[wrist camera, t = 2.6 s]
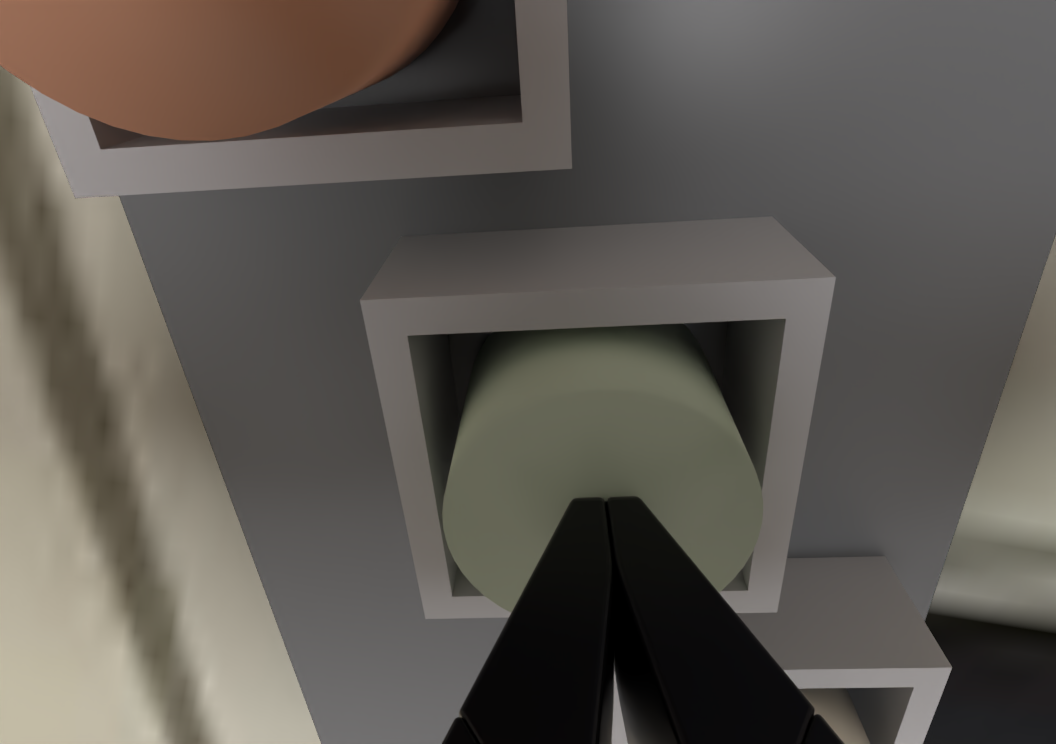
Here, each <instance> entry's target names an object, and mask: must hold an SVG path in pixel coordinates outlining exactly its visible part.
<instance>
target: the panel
mask: <svg viewBox="0 0 1056 744" xmlns="http://www.w3.org/2000/svg"><path fill="white" fill-rule="evenodd" d="M30 87H31V86H30ZM31 90H32V92H33V95H34V97H35V100H36V102H37V105H38V107H39V110H40V112H41V115H42V117H43V120H44V122H45V125H46V127H47V129H48V132H49V134H50V137H51V139H52V142H53V144H54V147H55V149H56V152H57V154H58V157H59V159H60V162H61V164H62V167H63V169H64V172H65V174H66V177H67V179H68V182H69V184H70V187H71V189H72V192H73V194H74V197H75V198H87V197H104V196H119V197H120V200H121V203H122V205H123V208H124V211H125V213H126V216H127V219H128V222H129V224H130V227H131V230H132V232H133V235H134V238H135V241H136V243H137V246H138V249H139V251H140V254H141V257H142V260H143V262H144V265H145V268H146V270H147V273H148V276H149V278H150V281H151V284H152V287H153V289H154V292H155V295H156V297H157V300H158V303H159V306H160V308H161V311H162V314H163V316H164V319H165V322H166V324H167V327H168V330H169V333H170V335H171V338H172V341H173V343H174V346H175V349H176V352H177V354H178V357H179V360H180V362H181V365H182V368H183V370H184V373H185V376H186V379H187V381H188V384H189V387H190V389H191V392H192V395H193V398H194V400H195V403H196V406H197V408H198V411H199V414H200V417H201V419H202V422H203V425H204V427H205V430H206V433H207V435H208V438H209V441H210V444H211V446H212V449H213V452H214V454H215V457H216V460H217V463H218V465H219V468H220V471H221V473H222V476H223V479H224V481H225V484H226V487H227V490H228V492H229V495H230V498H231V500H232V503H233V506H234V509H235V511H236V514H237V517H238V519H239V522H240V525H241V527H242V530H243V533H244V536H245V538H246V541H247V544H248V546H249V549H250V552H251V555H252V557H253V560H254V563H255V565H256V568H257V571H258V573H259V576H260V579H261V582H262V584H263V587H264V590H265V592H266V595H267V598H268V601H269V603H270V606H271V609H272V611H273V614H274V617H275V620H276V622H277V625H278V628H279V630H280V633H281V636H282V638H283V641H284V644H285V647H286V649H287V652H288V655H289V657H290V660H291V663H292V666H293V668H294V671H295V674H296V676H297V679H298V682H299V684H300V687H301V690H302V693H303V695H304V698H305V701H306V703H307V706H308V709H309V712H310V714H311V717H312V720H313V722H314V725H315V728H316V730H317V733H318V736H319V739H320V741H321V744H442V742H443V740H444V738H445V736H446V734H447V732H448V730H449V728H450V727H451V725H452V723H453V721H454V719H455V718H457V717H459V711H460V708H461V707H462V705H463V703H464V701H465V699H466V697H467V695H468V693H469V692H470V690H471V688H472V686H473V684H474V682H475V680H476V678H477V676H478V675H479V673H480V671H481V669H482V667H483V665H484V663H485V661H486V659H487V658H488V656H489V654H490V652H491V650H492V648H493V646H494V644H495V642H496V641H497V639H498V637H499V635H500V633H501V631H502V629H503V627H504V626H505V624H506V622H507V620H508V618H509V616H510V614H511V612H509V611H507V610H505V609H503V608H501V607H500V606H498V605H497V604H495V603H494V602H492V601H491V600H490V599H488V598H487V597H485V596H484V595H483V594H482V593H481V592H480V591H479V590H477V589H476V588H475V587H474V586H473V585H472V584H471V583H470V581H469V580H468V579H467V578H466V577H465V576H464V574H463V573H462V572H461V570H460V569H459V567H458V565H457V564H456V562H455V561H454V559H453V557H452V554H451V552H450V550H449V547H448V545H447V541H446V538H445V534H444V530H443V518H442V511H443V500H444V494H445V490H446V485H447V481H448V476H449V471H450V467H451V462H452V458H453V453H454V449H455V444H456V440H457V435H458V430H459V426H460V421H461V417H462V412H463V408H464V403H465V399H466V394H467V389H468V385H469V380H470V376H471V372H472V368H473V365H474V362H475V360H476V357H477V355H478V353H479V351H480V349H481V347H482V346H483V344H484V343H485V341H486V339H487V338H488V337H489V336H490V334H491V333H492V332H500V331H522V330H544V329H567V328H589V327H611V326H633V325H656V324H678V323H684V324H685V325H686V326H687V328H688V329H689V330H690V331H691V332H692V334H693V335H694V337H695V338H696V339H697V341H698V342H699V344H700V346H701V348H702V350H703V352H704V354H705V357H706V359H707V361H708V363H709V366H710V368H711V370H712V373H713V375H714V377H715V379H716V382H717V384H718V386H719V388H720V391H721V393H722V395H723V398H724V400H725V402H726V404H727V407H728V409H729V411H730V414H731V416H732V418H733V420H734V423H735V425H736V427H737V429H738V432H739V434H740V436H741V439H742V441H743V443H744V445H745V448H746V450H747V452H748V455H749V457H750V459H751V461H752V464H753V466H754V468H755V470H756V473H757V476H758V479H759V483H760V486H761V490H762V498H763V519H762V525H761V529H760V534H759V538H758V540H757V542H756V545H755V547H754V550H753V552H752V554H751V555H750V557H749V559H748V560H747V562H746V564H745V565H744V567H743V568H742V569H741V571H740V572H739V573H738V574H737V575H736V577H735V578H734V579H733V580H732V581H731V582H730V583H729V584H728V585H727V586H726V587H725V588H724V589H723V590H722V591H721V592H719V593H720V595H721V596H722V597H723V598H724V599H725V601H726V602H727V603H728V604H729V605H730V607H731V608H732V609H733V610H734V611H735V613H736V614H737V615H738V616H739V617H740V619H741V620H742V621H743V622H744V623H745V625H746V626H747V627H748V628H749V629H750V631H751V632H752V633H753V634H754V635H755V637H756V638H757V639H758V640H759V642H760V643H761V644H762V645H763V646H764V648H765V649H766V650H767V651H768V652H769V654H770V655H771V656H772V657H773V658H774V660H775V661H776V662H777V663H778V664H779V666H780V667H781V668H782V669H783V670H784V672H785V673H786V674H787V675H788V676H789V678H790V679H791V680H792V681H793V682H794V684H795V685H796V686H797V687H798V688H799V689H805V688H846V689H847V691H848V693H849V695H850V698H851V700H852V702H853V705H854V707H855V709H856V712H857V714H858V716H859V718H860V721H861V723H862V725H863V728H864V730H865V732H866V735H867V737H868V739H869V742H870V744H923V741H924V739H925V736H926V734H927V731H928V729H929V726H930V723H931V721H932V718H933V716H934V713H935V711H936V708H937V705H938V703H939V700H940V698H941V695H942V692H943V690H944V687H945V685H946V682H947V680H948V677H949V674H950V672H951V669H952V666H951V665H950V663H949V662H948V660H947V658H946V657H945V655H944V653H943V652H942V650H941V648H940V647H939V645H938V643H937V642H936V640H935V638H934V637H933V635H932V633H931V632H930V630H929V629H928V627H927V625H926V624H925V619H926V616H927V613H928V610H929V607H930V604H931V601H932V598H933V595H934V592H935V589H936V586H937V584H938V581H939V578H940V575H941V572H942V569H943V566H944V563H945V560H946V557H947V554H948V551H949V548H950V545H951V542H952V539H953V536H954V533H955V530H956V527H957V524H958V521H959V519H960V516H961V513H962V510H963V507H964V504H965V501H966V498H967V495H968V492H969V489H970V486H971V483H972V480H973V477H974V474H975V471H976V468H977V465H978V462H979V459H980V456H981V453H982V451H983V448H984V445H985V442H986V439H987V436H988V433H989V430H990V427H991V424H992V421H993V418H994V415H995V412H996V409H997V406H998V403H999V400H1000V397H1001V394H1002V391H1003V388H1004V386H1005V383H1006V380H1007V377H1008V374H1009V371H1010V368H1011V365H1012V362H1013V359H1014V356H1015V353H1016V350H1017V347H1018V344H1019V341H1020V338H1021V335H1022V332H1023V329H1024V326H1025V323H1026V321H1027V318H1028V315H1029V312H1030V309H1031V306H1032V303H1033V300H1034V297H1035V294H1036V291H1037V288H1038V285H1039V282H1040V279H1041V276H1042V273H1043V270H1044V267H1045V264H1046V261H1047V258H1048V255H1049V253H1050V250H1051V247H1052V244H1053V241H1054V238H1055V235H1056V0H459V1H458V3H457V6H456V8H455V10H454V11H453V13H452V15H451V16H450V18H449V19H448V21H447V23H446V24H445V26H444V27H443V29H442V30H441V32H440V33H439V34H438V35H437V37H436V38H435V39H434V40H433V41H432V43H431V44H430V45H429V46H428V47H427V49H426V50H424V51H423V52H422V53H421V54H420V55H419V56H418V57H417V58H416V59H415V60H413V61H412V62H411V63H410V64H409V65H407V66H406V67H404V68H403V69H401V70H400V71H398V72H397V73H395V74H394V75H392V76H391V77H389V78H387V79H385V80H382V81H380V82H378V83H376V84H374V85H372V86H370V87H367V88H365V89H363V90H360V91H358V92H356V93H354V94H351V95H349V96H347V97H345V98H342V99H340V100H338V101H335V102H333V103H331V104H329V105H326V106H324V107H322V108H320V109H317V110H315V111H313V112H310V113H308V114H306V115H304V116H301V117H299V118H297V119H295V120H292V121H290V122H288V123H285V124H283V125H281V126H279V127H276V128H273V129H269V130H266V131H262V132H259V133H256V134H252V135H249V136H244V137H237V138H230V139H223V140H215V141H193V140H175V139H167V138H160V137H153V136H147V135H143V134H139V133H136V132H132V131H128V130H124V129H121V128H117V127H113V126H111V125H108V124H106V123H103V122H101V121H98V120H96V119H93V118H90V117H88V116H85V115H83V114H80V113H78V112H76V111H74V110H72V109H70V108H68V107H66V106H65V105H63V104H61V103H59V102H57V101H55V100H53V99H51V98H49V97H47V96H46V95H44V94H42V93H40V92H39V91H37V90H36V89H34V88H33V87H31ZM612 744H628V742H627V737H626V732H625V727H624V722H623V717H622V712H621V706H620V701H619V696H618V689H617V683H616V676H615V667H614V705H613V726H612Z"/></svg>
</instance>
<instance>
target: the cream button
mask: <svg viewBox="0 0 1056 744" xmlns="http://www.w3.org/2000/svg"><path fill="white" fill-rule="evenodd" d="M799 690H800V691H801V692H802V693H803V695H804V696H805V697H806V698H807V699H808V701H809V702H810V703H811V704H812V705H813V707H814V709H815V713H814V715H815V714H820V715H821V716H822V717H823V718H824V719H825V721H826V722H827V723H828V724H829V725H830V727H831V728H832V729H833V730H834V732H835V733H836V734H837V735H838V736H839V738H840V739H841V740H842V741H843V742H844V744H870V742H869V739H868V737H867V735H866V732H865V730H864V728H863V725H862V723H861V721H860V718H859V716H858V714H857V712H856V709H855V707H854V705H853V702H852V700H851V698H850V695H849V693H848V691H847V689H846V688H805V689H799Z"/></svg>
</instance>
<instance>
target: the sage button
mask: <svg viewBox="0 0 1056 744" xmlns="http://www.w3.org/2000/svg"><path fill="white" fill-rule="evenodd" d="M618 496H637V497H639V498H641V499H642V501H643V502H644V503H645V504H646V505H647V507H648V508H649V509H650V510H651V511H652V513H653V514H654V515H655V516H656V517H657V519H658V520H659V521H660V522H661V523H662V525H663V526H664V527H665V528H666V529H667V531H668V532H669V533H670V534H671V536H672V537H673V538H674V539H675V540H676V542H677V543H678V544H679V545H680V546H681V548H682V549H683V550H684V551H685V552H686V554H687V555H688V556H689V557H690V558H691V560H692V561H693V562H694V563H695V564H696V566H697V567H698V568H699V569H700V570H701V572H702V573H703V574H704V575H705V576H706V578H707V579H708V580H709V581H710V582H711V584H712V585H713V586H714V587H715V589H716V590H717V591H718V592H721V591H722V590H723V589H724V588H725V587H726V586H727V585H728V584H729V583H730V582H731V581H732V580H733V579H734V578H735V577H736V575H737V574H738V573H739V572H740V571H741V569H742V568H743V567H744V565H745V564H746V562H747V560H748V559H749V557H750V555H751V554H752V552H753V550H754V547H755V545H756V542H757V540H758V538H759V534H760V529H761V525H762V519H763V498H762V490H761V486H760V483H759V479H758V476H757V473H756V470H755V468H754V466H753V464H752V461H751V459H750V457H749V455H748V452H747V450H746V448H745V445H744V443H743V441H742V439H741V436H740V434H739V432H738V429H737V427H736V425H735V423H734V420H733V418H732V416H731V414H730V411H729V409H728V407H727V404H726V402H725V400H724V398H723V395H722V393H721V391H720V388H719V386H718V384H717V382H716V379H715V377H714V375H713V373H712V370H711V368H710V366H709V363H708V361H707V359H706V357H705V354H704V352H703V350H702V348H701V346H700V344H699V342H698V341H697V339H696V338H695V337H694V335H693V334H692V332H691V331H690V330H689V329H688V328H687V326H686V325H685V324H684V323H678V324H656V325H633V326H611V327H589V328H567V329H544V330H522V331H500V332H492V333H491V334H490V336H489V337H488V338H487V339H486V341H485V343H484V344H483V346H482V347H481V349H480V351H479V353H478V355H477V357H476V360H475V362H474V365H473V368H472V372H471V376H470V380H469V385H468V389H467V394H466V399H465V403H464V408H463V412H462V417H461V421H460V426H459V430H458V435H457V440H456V444H455V449H454V453H453V458H452V462H451V467H450V471H449V476H448V481H447V485H446V490H445V494H444V500H443V511H442V518H443V530H444V534H445V538H446V541H447V545H448V547H449V550H450V552H451V554H452V557H453V559H454V561H455V562H456V564H457V565H458V567H459V569H460V570H461V572H462V573H463V574H464V576H465V577H466V578H467V579H468V580H469V581H470V583H471V584H472V585H473V586H474V587H475V588H476V589H477V590H479V591H480V592H481V593H482V594H483V595H484V596H485V597H487V598H488V599H490V600H491V601H492V602H494V603H495V604H497V605H498V606H500V607H501V608H503V609H505V610H507V611H509V612H512V610H513V609H514V607H515V605H516V603H517V601H518V599H519V597H520V595H521V593H522V592H523V590H524V588H525V586H526V584H527V582H528V580H529V578H530V576H531V575H532V573H533V571H534V569H535V567H536V565H537V563H538V561H539V560H540V558H541V556H542V554H543V552H544V550H545V548H546V546H547V544H548V543H549V541H550V539H551V537H552V535H553V533H554V531H555V529H556V527H557V526H558V524H559V522H560V520H561V518H562V516H563V514H564V512H565V510H566V509H567V507H568V505H569V503H570V502H571V500H572V499H574V498H584V497H601V498H603V499H604V500H605V503H606V500H607V499H608V498H609V497H618Z"/></svg>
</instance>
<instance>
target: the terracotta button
mask: <svg viewBox="0 0 1056 744" xmlns="http://www.w3.org/2000/svg"><path fill="white" fill-rule="evenodd" d="M458 1H459V0H0V65H1V66H2V67H3V68H5V69H6V70H7V71H9V72H10V73H12V74H13V75H15V76H16V77H18V78H19V79H21V80H22V81H24V82H25V83H27V84H28V85H30V86H31V87H33V88H34V89H36V90H37V91H39V92H40V93H42V94H44V95H46V96H47V97H49V98H51V99H53V100H55V101H57V102H59V103H61V104H63V105H65V106H66V107H68V108H70V109H72V110H74V111H76V112H78V113H80V114H83V115H85V116H88V117H90V118H93V119H96V120H98V121H101V122H103V123H106V124H108V125H111V126H113V127H117V128H121V129H124V130H128V131H132V132H136V133H139V134H143V135H147V136H153V137H160V138H167V139H175V140H193V141H215V140H223V139H230V138H237V137H244V136H249V135H252V134H256V133H259V132H262V131H266V130H269V129H273V128H276V127H279V126H281V125H283V124H285V123H288V122H290V121H292V120H295V119H297V118H299V117H301V116H304V115H306V114H308V113H310V112H313V111H315V110H317V109H320V108H322V107H324V106H326V105H329V104H331V103H333V102H335V101H338V100H340V99H342V98H345V97H347V96H349V95H351V94H354V93H356V92H358V91H360V90H363V89H365V88H367V87H370V86H372V85H374V84H376V83H378V82H380V81H382V80H385V79H387V78H389V77H391V76H392V75H394V74H395V73H397V72H398V71H400V70H401V69H403V68H404V67H406V66H407V65H409V64H410V63H411V62H412V61H413V60H415V59H416V58H417V57H418V56H419V55H420V54H421V53H422V52H423V51H424V50H426V49H427V47H428V46H429V45H430V44H431V43H432V41H433V40H434V39H435V38H436V37H437V35H438V34H439V33H440V32H441V30H442V29H443V27H444V26H445V24H446V23H447V21H448V19H449V18H450V16H451V15H452V13H453V11H454V10H455V8H456V6H457V3H458Z"/></svg>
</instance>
